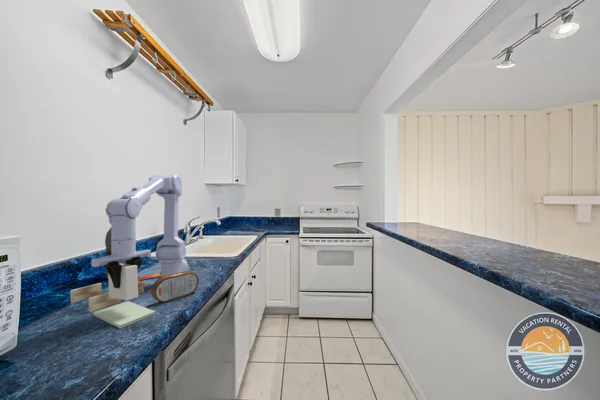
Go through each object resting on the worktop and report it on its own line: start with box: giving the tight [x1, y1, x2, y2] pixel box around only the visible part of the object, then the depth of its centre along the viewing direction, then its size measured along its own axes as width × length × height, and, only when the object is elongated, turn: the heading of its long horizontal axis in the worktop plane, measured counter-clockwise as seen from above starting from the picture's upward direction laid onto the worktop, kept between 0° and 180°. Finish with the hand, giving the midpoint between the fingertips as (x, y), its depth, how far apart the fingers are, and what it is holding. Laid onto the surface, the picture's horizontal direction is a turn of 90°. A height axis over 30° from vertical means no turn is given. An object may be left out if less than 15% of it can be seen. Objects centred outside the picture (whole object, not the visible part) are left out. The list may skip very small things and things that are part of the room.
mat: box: [92, 300, 156, 329], centre depth 69 cm, size 9×16×1 cm, turn 60°
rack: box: [70, 282, 122, 313], centre depth 78 cm, size 8×15×4 cm, turn 60°
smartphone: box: [138, 271, 161, 282], centre depth 103 cm, size 7×15×1 cm, turn 128°
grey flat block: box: [108, 264, 139, 301], centre depth 69 cm, size 3×10×9 cm, turn 62°
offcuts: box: [138, 281, 146, 295], centre depth 88 cm, size 3×11×4 cm, turn 61°
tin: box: [150, 270, 200, 303], centre depth 81 cm, size 15×3×8 cm, turn 141°
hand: (124, 285), depth 69 cm, fingers closed on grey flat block, 3 cm apart
